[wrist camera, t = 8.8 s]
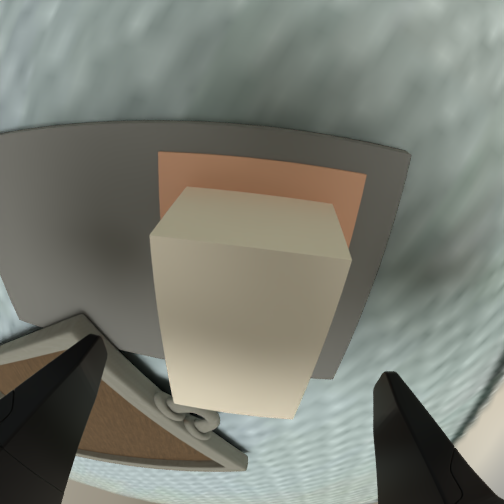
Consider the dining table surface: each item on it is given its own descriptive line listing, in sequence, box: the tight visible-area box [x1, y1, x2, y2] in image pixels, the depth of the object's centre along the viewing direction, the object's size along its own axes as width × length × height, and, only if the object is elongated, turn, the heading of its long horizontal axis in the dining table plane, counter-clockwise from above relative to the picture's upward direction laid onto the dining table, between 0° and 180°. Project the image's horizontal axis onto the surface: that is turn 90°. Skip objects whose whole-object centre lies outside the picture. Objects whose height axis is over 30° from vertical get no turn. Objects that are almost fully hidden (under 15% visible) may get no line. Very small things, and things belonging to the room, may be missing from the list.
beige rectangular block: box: [149, 186, 352, 419], centre depth 11 cm, size 5×8×4 cm, turn 175°
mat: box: [0, 120, 411, 379], centre depth 13 cm, size 12×20×1 cm, turn 85°
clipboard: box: [0, 314, 248, 472], centre depth 22 cm, size 19×2×30 cm
